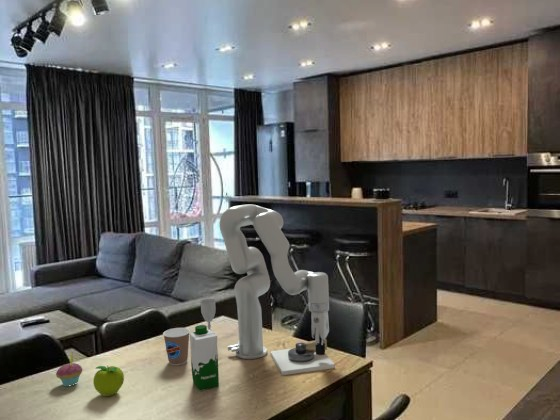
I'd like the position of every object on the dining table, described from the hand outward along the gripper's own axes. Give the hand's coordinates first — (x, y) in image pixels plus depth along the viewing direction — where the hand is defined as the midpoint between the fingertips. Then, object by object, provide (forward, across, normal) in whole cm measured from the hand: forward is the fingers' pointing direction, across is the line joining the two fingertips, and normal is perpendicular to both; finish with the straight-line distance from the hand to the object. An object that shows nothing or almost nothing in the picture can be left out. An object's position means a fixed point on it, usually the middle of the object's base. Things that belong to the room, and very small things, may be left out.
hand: (320, 353), depth 177 cm
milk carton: (+4, -24, +36) cm, 43 cm away
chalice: (+4, +16, +53) cm, 55 cm away
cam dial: (+3, +4, +6) cm, 7 cm away
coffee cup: (+4, -8, +55) cm, 56 cm away
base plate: (+4, +2, +8) cm, 9 cm away
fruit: (+4, -37, +65) cm, 75 cm away
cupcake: (+4, -33, +85) cm, 91 cm away
